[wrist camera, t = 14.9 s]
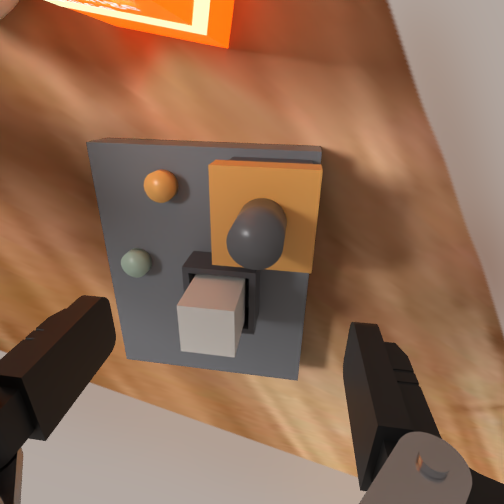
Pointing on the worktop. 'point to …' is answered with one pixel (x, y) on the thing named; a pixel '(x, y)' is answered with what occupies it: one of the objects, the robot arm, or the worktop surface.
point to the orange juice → (164, 17)
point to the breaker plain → (212, 315)
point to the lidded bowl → (7, 7)
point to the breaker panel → (188, 252)
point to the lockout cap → (264, 214)
